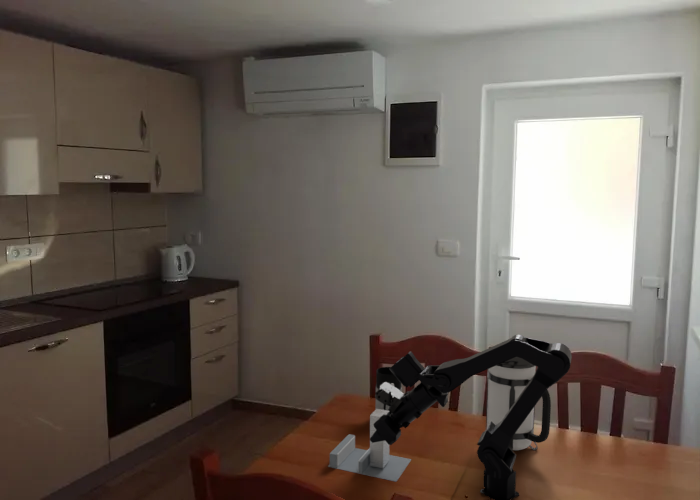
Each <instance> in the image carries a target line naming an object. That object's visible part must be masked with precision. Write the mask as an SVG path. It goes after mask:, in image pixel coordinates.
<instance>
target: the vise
mask: <svg viewBox="0 0 700 500" xmlns="http://www.w3.org/2000/svg"><path fill="white" fill-rule="evenodd" d="M411 461H412V459H411V458H406V457H401V456H397V455H392V454H389V461H388V463H387V464H386V465H385V467H384V468H379V467H374V466H370V447H369V448H368V449H362V448H358V447H356V435H355V434H351V433H350V434H348V435H346V436H345V437H344V438H343V439H342V441H340V442H339V444H337V446H335V447H334V448H333V449H332V450H331V452H329V464H328V465H327V467H328V468H332V469H336V470H337V469H338V470H342V471H345V472H350V473H354V474H360V475H364V476H369V477H372V478H373V477H374V478H378V479H383V480H387V481H391V482H395V483H396V482H397V481H398V480H399V478H400V477H401V476H402V474H403V473H404V471H405V470H406V469H407V467H408V466H409V464H410V462H411Z"/></svg>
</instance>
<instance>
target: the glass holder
mask: <svg viewBox="0 0 700 500" xmlns="http://www.w3.org/2000/svg"><path fill="white" fill-rule="evenodd" d="M391 367H392V366H383V367H379V368H377V369H376V371H375V372H376V376H375V377H376V378H375V379H376V380H375V381H376V383H375V393H376V392H377V391H378V389H379V387H380V385H382V384H383V383H384V382H387V383H389V384H391V385H393V386H394V387H396V388H397V389H399V390H400V391H401V392H402V390H403V388H402V386H403V385H402V383H401V382H400V381H399V380H398V379H397V378H396V376H395V375H394V374H393V373H392V372H391V371H390V369H389V368H391ZM402 393H403V392H402ZM389 407H390V406H387V405H386V404H385V405H384V404H383V403H381V402H379V401H378V400H377V399H376V398H375V407H374V408H375V409H374V411H375V410H376V409H381V410H387V411H389V410H388V409H389Z"/></svg>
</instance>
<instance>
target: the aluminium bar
mask: <svg viewBox="0 0 700 500" xmlns="http://www.w3.org/2000/svg"><path fill="white" fill-rule="evenodd" d="M383 414H384V415H389V416H390V411H387V410H381V409H376V410H375V409H374V411H372V412H371V414H370V416H369V439H370V438H371V437H372V435H373V434H374V433H375V431H376V429H375V427H374V423H375V422H376V421H377V420H378V419H379V418H380V417H381V416H382V415H383ZM369 448H370V466H374V467H379V468H384V467H385V465H386V464H387V463H388V461H389V455H390V445H389V444H388V443H387V442H386V441H380V442H374V443H372V442H371V441H370V440H369Z"/></svg>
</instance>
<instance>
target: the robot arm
mask: <svg viewBox="0 0 700 500" xmlns="http://www.w3.org/2000/svg"><path fill="white" fill-rule="evenodd" d="M572 356H573V355H572V351H571V350H570V348H569V347H568V346H567V345H565V344H564V343H560V342H554V343H553V342H552V343H551V342H548V341H546V340H540V339H536V338H531V337H527V336H524V335H522V334H514V335H512V337H510V338H508V339H507V340H504V341H502V342H500V343H497V344H496V345H493V346H491V347H489V348H486V349H484V350H482V351H480V352H477V353H475V354H473V355H471V356H469V357H466V358H465V357H464V358H457V359H456V358H455V359H452V360H448V361H444V362H443V363H441V364H440V365H438V364H437V365H434V364H433V365H431V364H430V365H426V367H424V366H423V365H422V363H420V361H419V360H418V359H417V357H416V356H415V355H414V352H412V351H409V352H408V353H406V354H405V355H404V356H402V357H400V359H399V360H397V361H396V362H395V363H394V364H392V365H391V366H390V367H391V368H389V369H390V371H391V372H392V373H393V374H394V375H395V376H396V378H397V379H398V380H399V381H400V382H401V385H402V386H403V387H405V388H408V387H409V388H412V387H413V386H414V385H416V384H417V383H418V382H419V381H420V382H419V383H418V384H417V385H416V386H415V387H413V388H412V389H411V390H409V391H408V390H407V391H406V392H401V391H400V390H399V389H397V388H396V387H394V386H393V385H391V384H389V383H387V382H384V383H383V384H382V385H380V387H379V389H378V391H377V392H376V391H375V395H374V398H375V400H376V399H377V400H378V401H379V402H381V403H383V404H384V405H385V404H386V405H387V406H390V407H389V409H388V410H389V411H390V416H389V415H384V414H383V415H382V416H381V417H380V418H379V419H378V420H377V421H376V422H375V423H374V427H375V429H376V431H375V433H374V434H373V435H372V437H371V438H370V437H369V442H370V441H371V442H372V443H374V442H380V441H386V442H387V443H388V444H389V446H392V445H393V444H395V443H396V442H397V441H398V440H399V438H400V437H401V435H402V429H401V428H404V429H407V428H408V427H409V426H410V424H411V423H412V422H413V421H415V420H416V419H419V418H420V417H421V416H422V415H423V413H424V412H426V411H427V410H428V409H429V408H431V407H432V406H433V405H434V404H435V403H438V404H439V405H440V407H442V408H444V407H446V405H447V403H448V402H449V399H448V396H449V393H451V392H452V391H454V390H455V389H457V388H458V387H460V386H462V384H463V383H465V382H466V381H467V380H468V379H470V378H471V377H473V376H475V375H478V374H480V373H483V372H484V371H488V369H489V368H491V367H494V366H496V365H498V364H501V363H503V362H505V361H508V360H510V359H512V358H514V357H519V358H522V359H524V360H526V361H527V362H529V363H531V364H533V365H535V366H536V369H535V374H534V376H533V377H532V379H531V380H530V381H529V383H528V384H527V386H526V387H525V389H524V390H523V391H522V393H521V394H520V396H519V397H518V398H517V400H516V401H515V403H514V404H513V405H512V407H511V408H510V410H509V411H508V412H507V414H506V415H505V417H504V418H503V419H502V421H501V422H499V423H498V424H497V425H495V424H494V423H493V422H492V421H491V422H490V424H489V426H488V429H487V428H486V429H485V430H484V431H482V433H481V435H480V437H479V439H478V442H477V444H476V445H477V446H478V448H477V451H476V454H477V457H478V459H479V461H480V462H481V463H482V465H483V466H484V470H483V488H481V489H480V491H479V493H480V494H481V495H484V496H486V497H487V498H489V499H491V500H513V499H515V498H517V497H519V496H520V492H519V491H517V490H516V479H517V472H516V470H514V468H513V467H514V464H515V462H516V458H517V454H516V452H514V450H513V451H512V450H511V449H510V447H509V444H510V442H511V440H512V437H513V435H514V434H515V433H516V431H517V430H518V429H519V427H520V426H521V424H522V423H523V422H524V420H525V419H526V418H527V416H528V415H529V413H530V412H531V411H532V409H533V408H534V407H535V408H536V405H537V403H538V402H539V401H540V400H541V398H542V396H543V394H544V393H545V391H546V390H548V389H550V388H551V387H552V386H553V385H555V384H556V383H558V382H559V381H560V380H561V379H562V378H563V377H564V376H565V375H567V373H568V372H569V371H570V368H571V363H572Z"/></svg>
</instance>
